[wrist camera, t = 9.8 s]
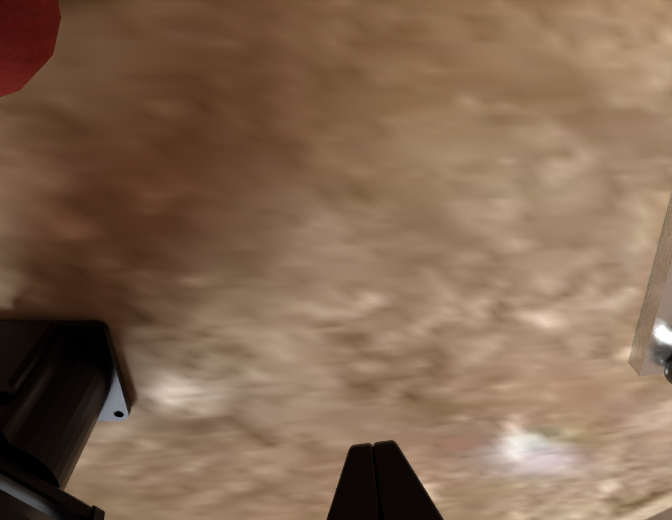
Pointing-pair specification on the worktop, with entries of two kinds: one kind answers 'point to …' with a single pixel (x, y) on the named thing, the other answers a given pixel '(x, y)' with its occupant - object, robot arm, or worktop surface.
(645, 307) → the grey handled base plate
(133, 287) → the worktop surface
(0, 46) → the onion
